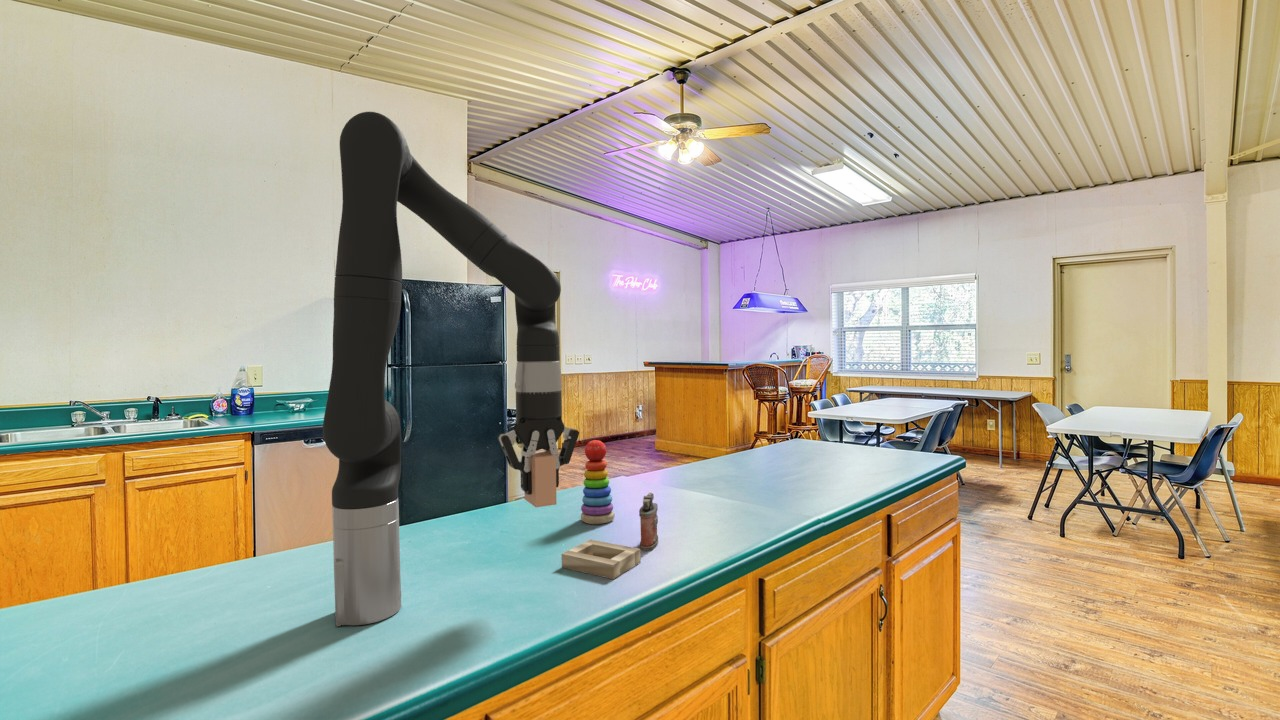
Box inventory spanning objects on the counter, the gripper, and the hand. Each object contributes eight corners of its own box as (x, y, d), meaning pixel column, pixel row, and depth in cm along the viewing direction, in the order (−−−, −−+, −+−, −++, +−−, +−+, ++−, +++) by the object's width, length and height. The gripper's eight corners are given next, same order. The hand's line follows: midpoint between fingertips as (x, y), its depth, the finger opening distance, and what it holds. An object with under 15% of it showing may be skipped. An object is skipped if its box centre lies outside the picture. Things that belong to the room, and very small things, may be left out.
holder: (613, 579, 100) (613, 564, 100) (561, 567, 106) (561, 553, 106) (640, 562, 108) (640, 549, 107) (590, 552, 114) (590, 539, 113)
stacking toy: (621, 518, 136) (619, 439, 136) (601, 527, 129) (599, 444, 129) (594, 513, 140) (592, 437, 140) (573, 522, 134) (571, 441, 133)
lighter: (654, 551, 113) (652, 501, 113) (637, 550, 114) (636, 500, 113) (660, 538, 121) (659, 491, 121) (644, 537, 122) (643, 490, 121)
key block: (535, 507, 92) (535, 457, 92) (524, 499, 98) (523, 452, 97) (556, 504, 94) (555, 455, 94) (544, 496, 99) (543, 450, 99)
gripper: (502, 392, 89) (504, 503, 89) (586, 388, 96) (588, 491, 96) (490, 389, 95) (492, 492, 96) (570, 386, 102) (571, 482, 102)
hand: (540, 491), depth 96 cm, fingers closed on key block, 3 cm apart
